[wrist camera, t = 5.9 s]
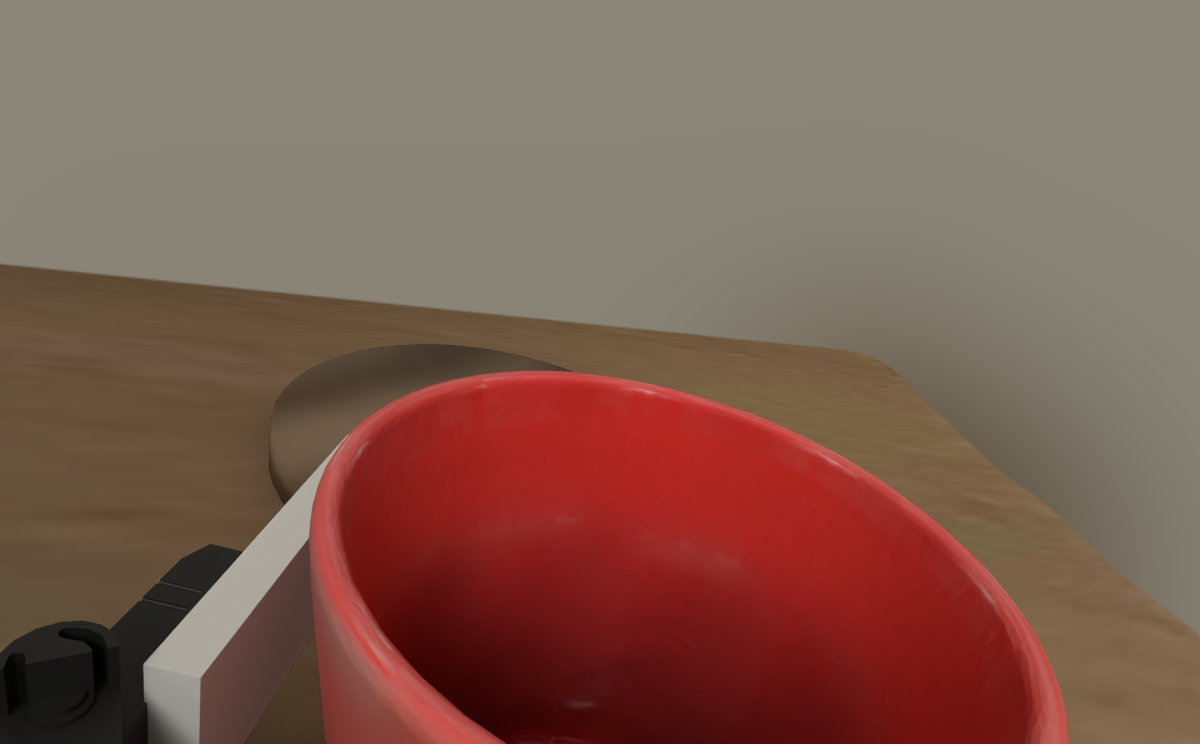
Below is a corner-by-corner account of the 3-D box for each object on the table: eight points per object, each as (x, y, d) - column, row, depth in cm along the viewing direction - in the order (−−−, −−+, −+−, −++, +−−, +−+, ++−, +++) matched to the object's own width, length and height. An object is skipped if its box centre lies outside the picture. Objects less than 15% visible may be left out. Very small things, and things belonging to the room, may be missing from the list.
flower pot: (614, 645, 22) (705, 353, 18) (930, 1051, 14) (1204, 681, 10) (221, 775, 16) (237, 371, 12) (388, 1637, 8) (589, 1239, 4)
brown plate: (166, 448, 25) (166, 411, 25) (448, 346, 39) (452, 320, 39) (552, 678, 20) (563, 637, 19) (721, 465, 34) (730, 438, 33)
